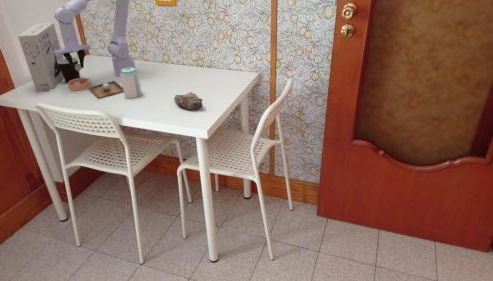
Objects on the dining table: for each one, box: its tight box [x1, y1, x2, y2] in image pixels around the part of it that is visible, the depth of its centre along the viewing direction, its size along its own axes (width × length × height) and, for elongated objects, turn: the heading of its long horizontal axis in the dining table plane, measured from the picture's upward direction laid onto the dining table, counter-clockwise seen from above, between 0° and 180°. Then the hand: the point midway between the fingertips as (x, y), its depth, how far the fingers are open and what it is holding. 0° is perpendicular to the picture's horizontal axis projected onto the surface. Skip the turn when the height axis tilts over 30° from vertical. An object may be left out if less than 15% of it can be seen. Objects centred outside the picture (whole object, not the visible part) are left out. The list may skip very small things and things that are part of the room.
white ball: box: [102, 82, 110, 91], centre depth 166 cm, size 3×3×3 cm
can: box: [120, 67, 143, 99], centre depth 159 cm, size 7×7×12 cm
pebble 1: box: [74, 62, 83, 72], centre depth 168 cm, size 3×3×3 cm
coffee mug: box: [58, 57, 81, 83], centre depth 179 cm, size 12×9×10 cm
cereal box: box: [18, 22, 65, 93], centre depth 173 cm, size 22×8×25 cm, turn 6°
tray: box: [87, 80, 124, 100], centre depth 167 cm, size 12×14×1 cm
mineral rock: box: [173, 91, 203, 110], centre depth 152 cm, size 15×8×4 cm, turn 33°
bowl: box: [67, 77, 92, 92], centre depth 171 cm, size 9×9×3 cm
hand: (78, 68), depth 168 cm, fingers closed on pebble 1, 3 cm apart
